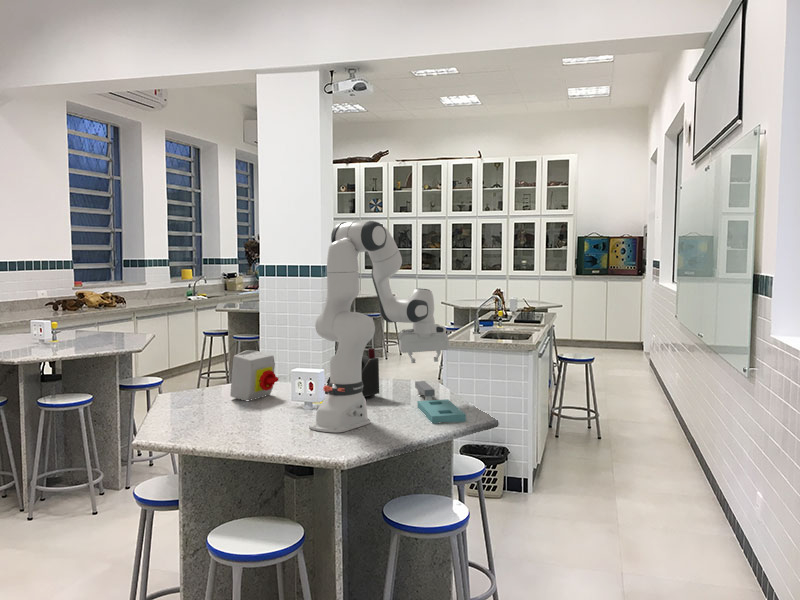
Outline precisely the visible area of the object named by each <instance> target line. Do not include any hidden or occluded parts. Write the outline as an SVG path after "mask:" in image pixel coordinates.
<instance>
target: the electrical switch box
mask: <svg viewBox="0 0 800 600" xmlns="http://www.w3.org/2000/svg"><path fill="white" fill-rule="evenodd" d="M275 365H276V362H275V357H274V355H272V354H270V353H267V352H262V351H258V350H250V349H249V350H244V351H241V352H239V353H237V354H235V355H233V358H232V370H231V380H230V381H231V385H230V395H229V396H230V397H231V398H234V399H238V400H240V399H241V401H243V400H251V399H254V400H256V399H255V398H258V397H261V398H263V397H262V396H265V395H268V396H270V395H271V393H272V392H273V391H272V390H273V388H274V385H275V383H277V382H279V377H277V376H276V373H275V370H276V369H275V368H276V366H275ZM269 394H270V395H269ZM265 397H266V396H265ZM258 399H259V398H258ZM251 401H252V400H251Z"/></svg>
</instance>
